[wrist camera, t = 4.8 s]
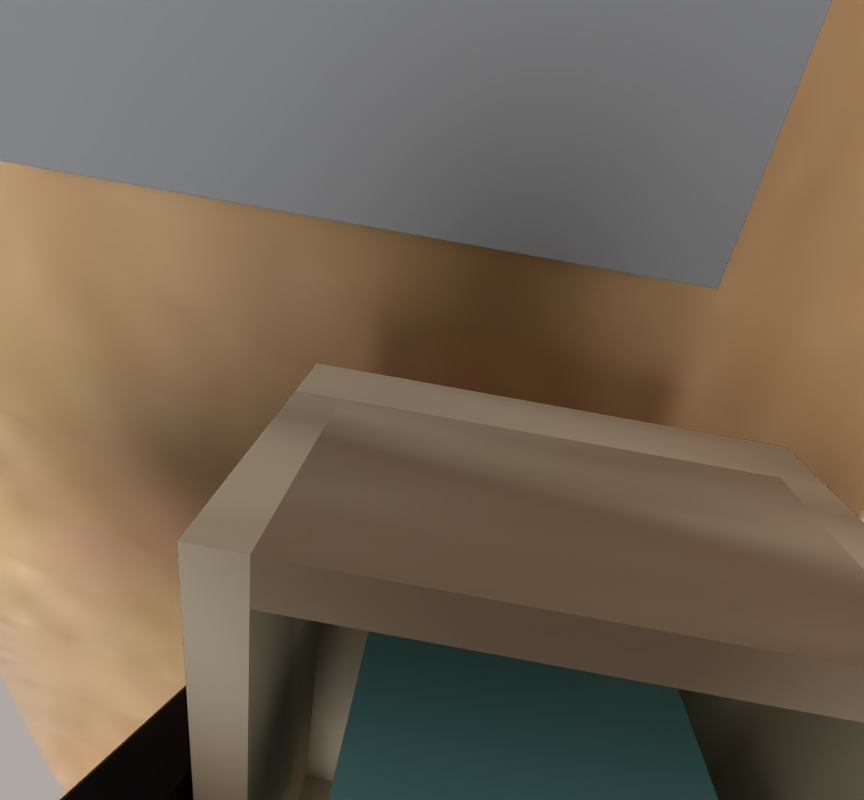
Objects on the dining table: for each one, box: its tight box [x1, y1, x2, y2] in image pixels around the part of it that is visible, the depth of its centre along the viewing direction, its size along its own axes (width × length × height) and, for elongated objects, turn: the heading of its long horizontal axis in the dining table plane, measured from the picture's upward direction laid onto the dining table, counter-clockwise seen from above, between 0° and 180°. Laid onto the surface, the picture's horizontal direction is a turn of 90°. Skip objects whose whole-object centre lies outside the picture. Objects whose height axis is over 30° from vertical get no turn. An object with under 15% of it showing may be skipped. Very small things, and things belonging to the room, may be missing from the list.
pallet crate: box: [177, 363, 864, 800], centre depth 8 cm, size 9×7×4 cm
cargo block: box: [328, 631, 718, 800], centre depth 7 cm, size 4×4×4 cm
